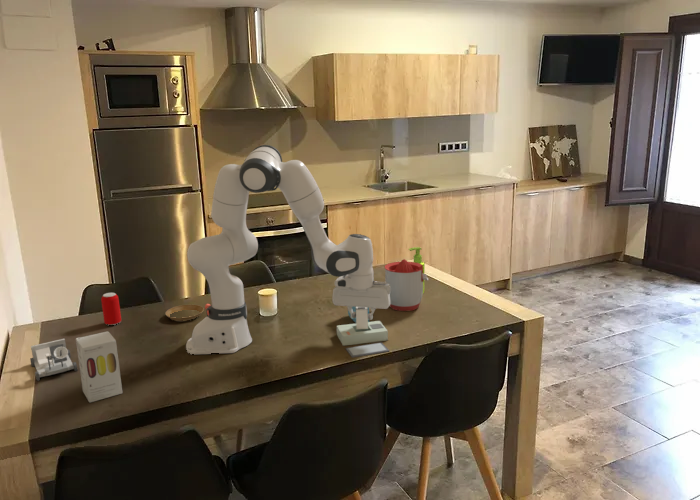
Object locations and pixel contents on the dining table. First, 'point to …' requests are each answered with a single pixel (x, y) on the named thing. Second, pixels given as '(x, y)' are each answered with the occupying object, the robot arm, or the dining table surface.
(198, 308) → the plant saucer
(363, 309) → the plug
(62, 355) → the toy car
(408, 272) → the citrus juicer
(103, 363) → the supplement box
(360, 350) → the phone
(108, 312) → the beverage can
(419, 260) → the soap dispenser
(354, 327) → the socket strip
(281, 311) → the dining table surface
